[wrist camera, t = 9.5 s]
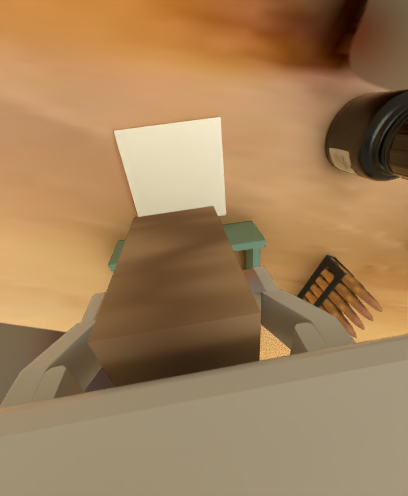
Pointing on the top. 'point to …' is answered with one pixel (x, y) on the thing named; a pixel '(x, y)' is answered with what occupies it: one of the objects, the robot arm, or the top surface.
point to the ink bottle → (372, 136)
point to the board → (174, 166)
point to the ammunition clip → (338, 293)
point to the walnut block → (176, 302)
